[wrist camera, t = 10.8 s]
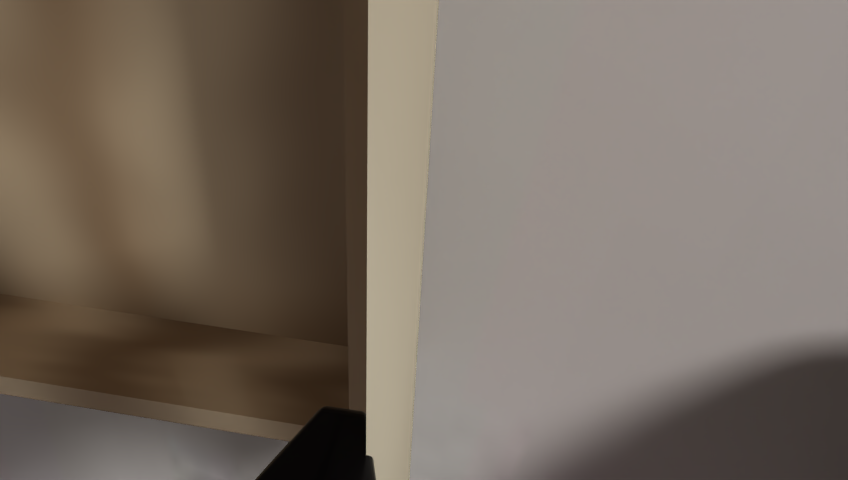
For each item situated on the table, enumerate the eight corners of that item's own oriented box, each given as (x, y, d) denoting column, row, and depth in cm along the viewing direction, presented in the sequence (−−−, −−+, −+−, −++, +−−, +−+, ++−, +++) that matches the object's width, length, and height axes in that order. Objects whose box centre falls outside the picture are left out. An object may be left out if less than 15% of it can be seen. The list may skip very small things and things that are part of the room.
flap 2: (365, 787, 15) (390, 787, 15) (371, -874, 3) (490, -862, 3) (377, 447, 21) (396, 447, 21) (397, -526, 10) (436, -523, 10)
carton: (443, -513, 12) (397, -571, 9) (403, 354, 25) (377, 456, 21) (-424, -548, 14) (-716, -608, 11) (-59, 284, 26) (-146, 369, 23)
